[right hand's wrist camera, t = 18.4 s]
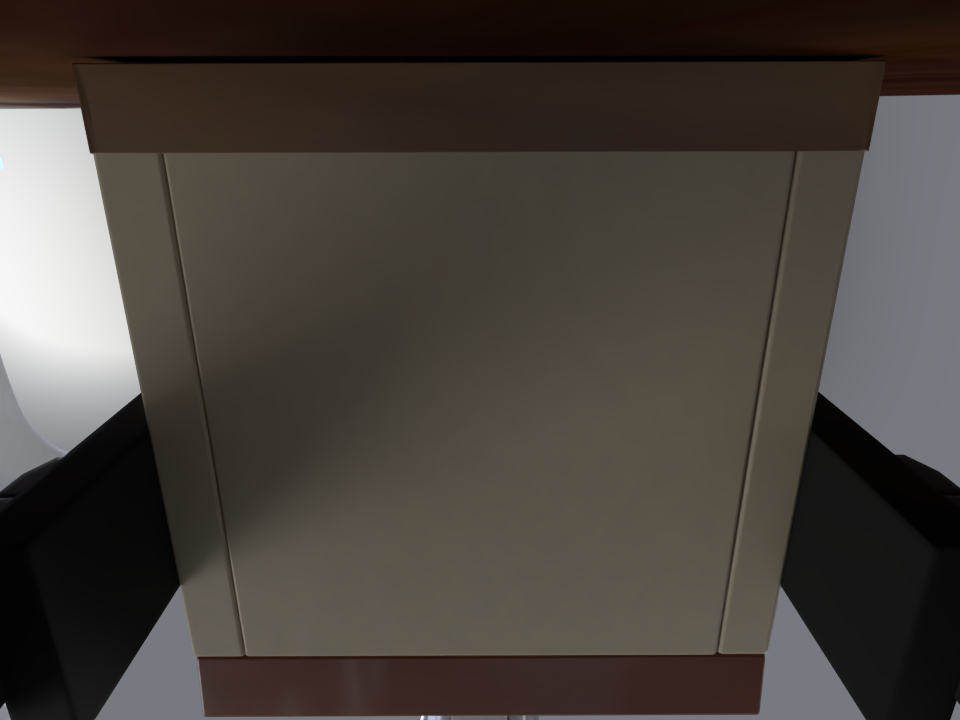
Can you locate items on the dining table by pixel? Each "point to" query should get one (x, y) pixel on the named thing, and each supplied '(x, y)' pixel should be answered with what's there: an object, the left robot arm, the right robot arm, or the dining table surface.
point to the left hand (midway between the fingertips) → (478, 646)
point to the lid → (481, 685)
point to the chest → (479, 341)
